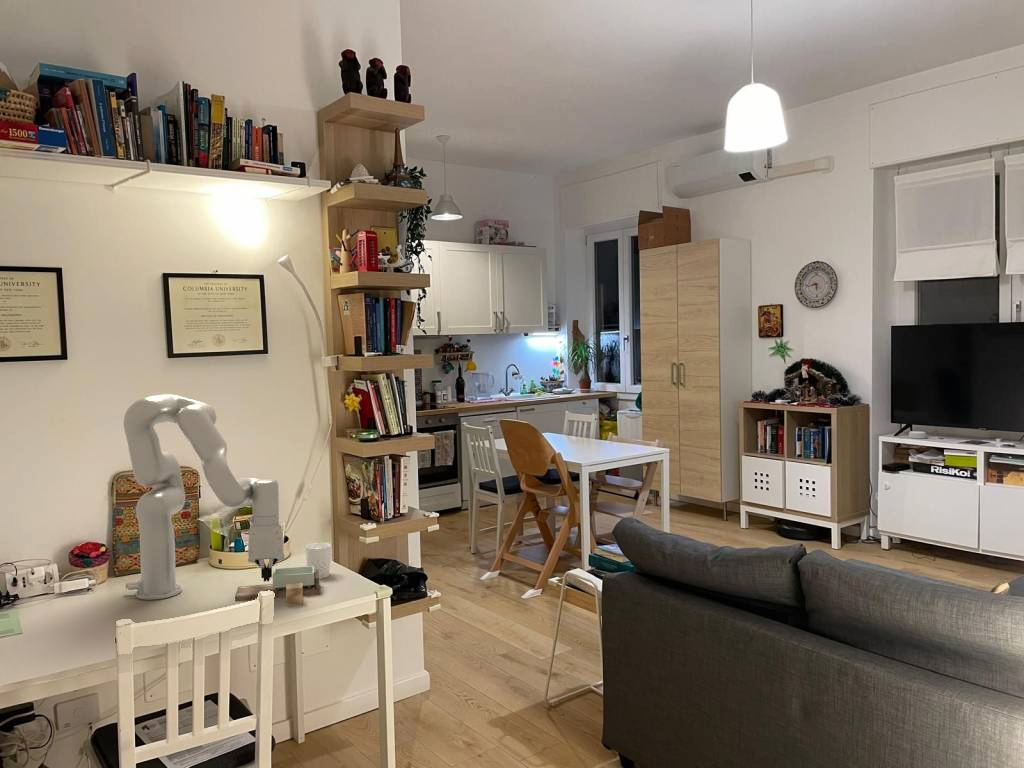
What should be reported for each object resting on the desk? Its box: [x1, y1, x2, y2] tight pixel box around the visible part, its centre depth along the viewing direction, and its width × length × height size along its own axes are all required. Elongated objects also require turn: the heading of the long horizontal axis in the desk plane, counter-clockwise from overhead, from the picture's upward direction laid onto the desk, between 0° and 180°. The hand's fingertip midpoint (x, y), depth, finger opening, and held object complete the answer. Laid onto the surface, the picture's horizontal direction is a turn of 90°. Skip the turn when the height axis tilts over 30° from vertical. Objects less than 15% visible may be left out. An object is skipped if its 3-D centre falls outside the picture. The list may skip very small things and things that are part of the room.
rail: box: [234, 569, 320, 602], centre depth 234 cm, size 24×10×5 cm, turn 104°
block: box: [285, 583, 304, 607], centre depth 225 cm, size 4×4×5 cm
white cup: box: [305, 542, 332, 580], centre depth 251 cm, size 8×8×10 cm
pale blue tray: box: [272, 565, 314, 591], centre depth 235 cm, size 12×8×5 cm, turn 104°
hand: (266, 580), depth 233 cm, fingers closed
